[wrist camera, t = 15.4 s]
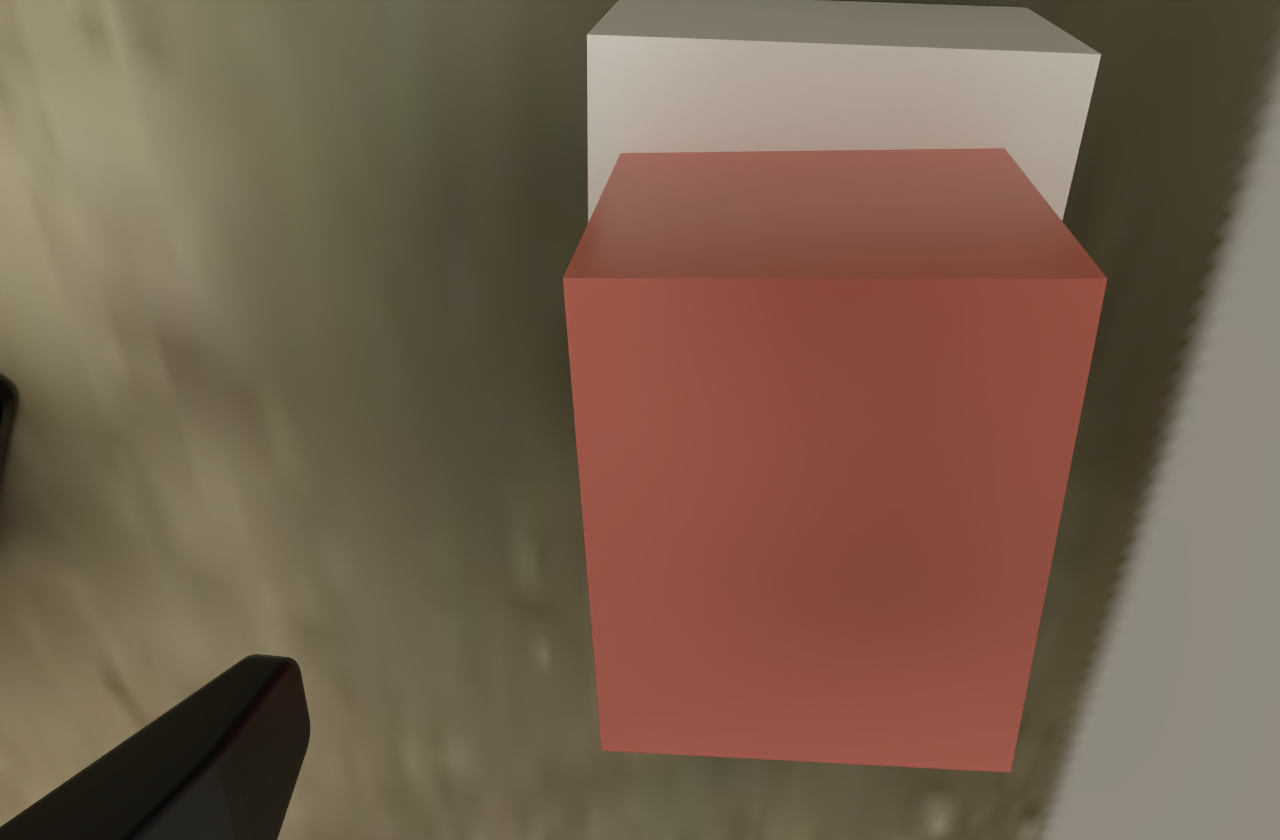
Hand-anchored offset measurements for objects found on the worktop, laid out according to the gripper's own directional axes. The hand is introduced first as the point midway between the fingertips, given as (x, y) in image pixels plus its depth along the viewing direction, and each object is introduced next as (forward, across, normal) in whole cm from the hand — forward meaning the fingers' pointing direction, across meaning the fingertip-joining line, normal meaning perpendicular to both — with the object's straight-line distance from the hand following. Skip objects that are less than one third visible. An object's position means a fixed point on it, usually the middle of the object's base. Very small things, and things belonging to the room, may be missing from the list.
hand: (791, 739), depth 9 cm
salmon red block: (+8, 0, 0) cm, 8 cm away
